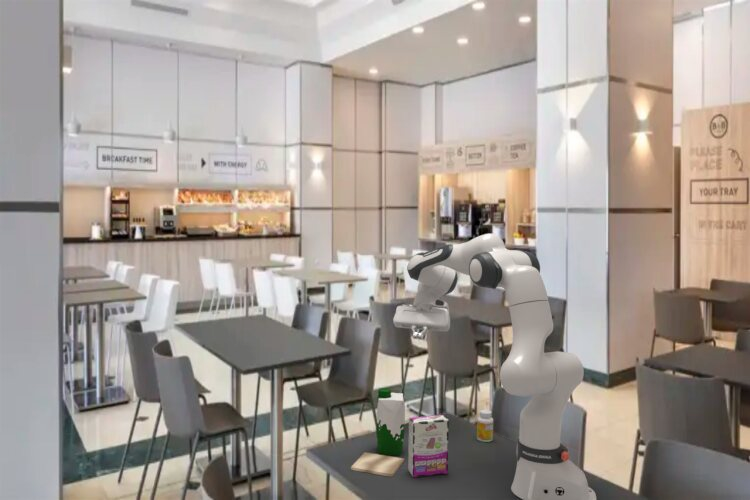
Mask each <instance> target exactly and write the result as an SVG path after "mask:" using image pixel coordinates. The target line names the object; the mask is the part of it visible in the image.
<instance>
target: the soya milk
mask: <svg viewBox="0 0 750 500" xmlns="http://www.w3.org/2000/svg"><path fill="white" fill-rule="evenodd" d="M377 391H378V395H377V406H376V407H377V408H376V426H375V427H376V431H375V432H376V444H377V445H376V446H377V452H378V453H377V454H378V455H385V456H402V453H403V446H404V439H405V428H406V425H405V422H406V421H405V420H406V412H405V401H404V393H400V392H398V393H397V392H392V390H391V389H390V388H388V387H381V388H378V390H377Z"/></svg>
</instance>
